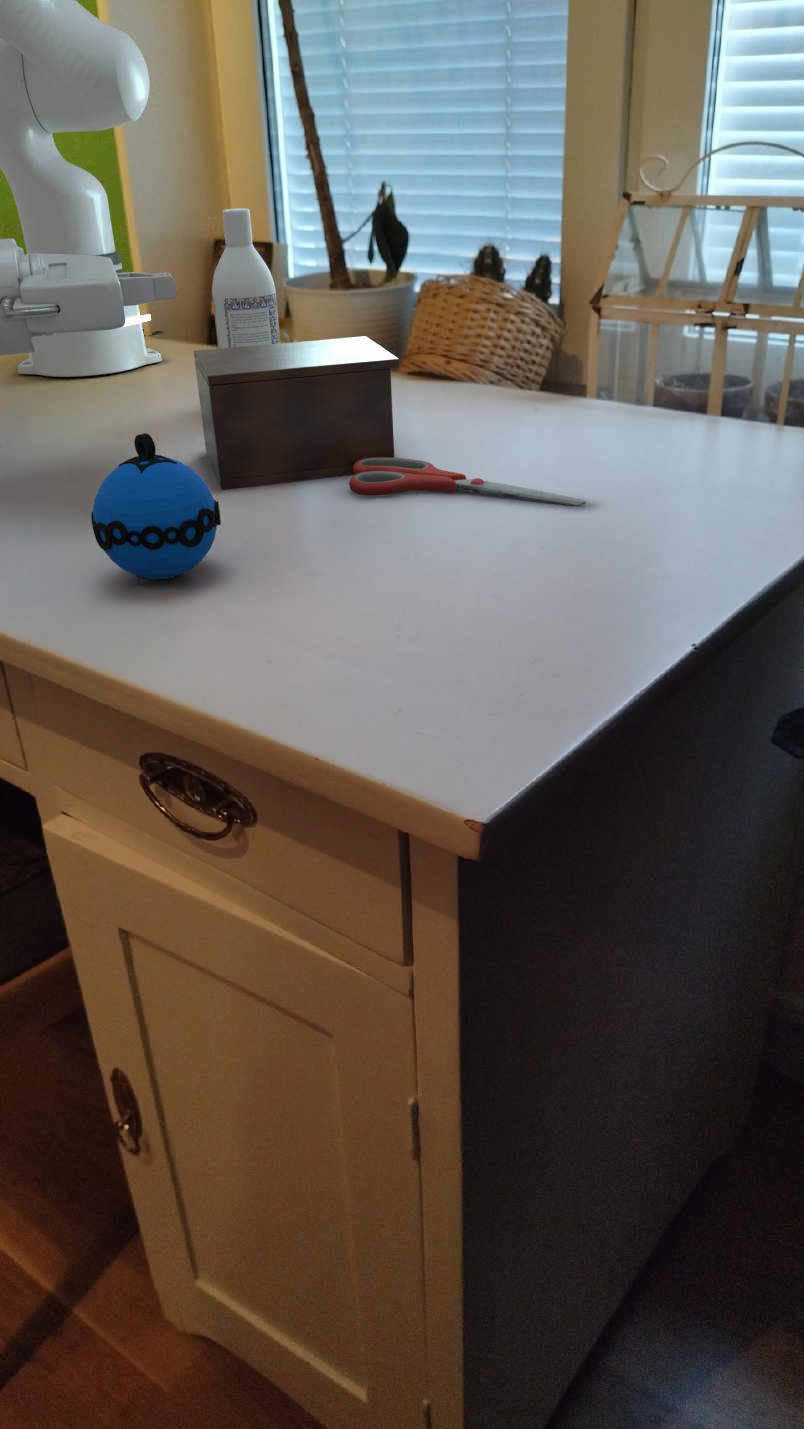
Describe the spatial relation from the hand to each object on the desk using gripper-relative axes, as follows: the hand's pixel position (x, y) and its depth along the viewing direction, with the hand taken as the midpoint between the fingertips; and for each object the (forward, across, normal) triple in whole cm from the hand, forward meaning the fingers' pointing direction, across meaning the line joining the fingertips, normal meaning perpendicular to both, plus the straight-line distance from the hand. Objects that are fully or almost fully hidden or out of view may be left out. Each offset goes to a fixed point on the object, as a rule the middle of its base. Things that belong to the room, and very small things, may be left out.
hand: (174, 285), depth 93 cm
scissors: (+21, -14, +16) cm, 30 cm away
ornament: (-5, -26, +16) cm, 31 cm away
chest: (+9, 0, +16) cm, 18 cm away
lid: (+10, 0, +7) cm, 12 cm away
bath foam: (+9, +28, +16) cm, 34 cm away
